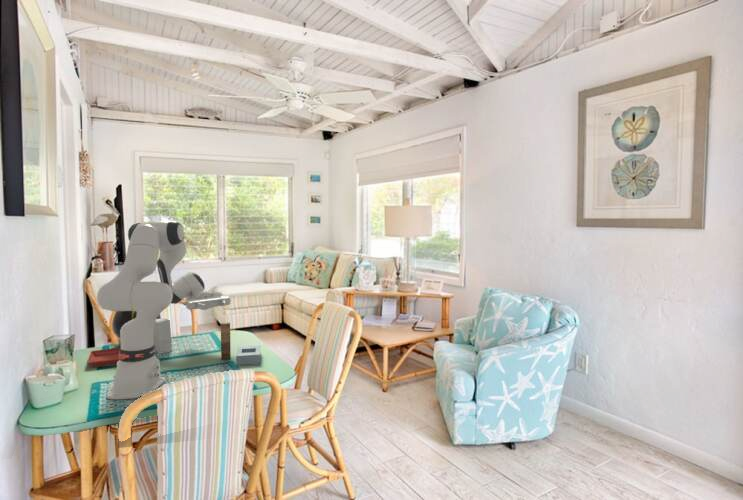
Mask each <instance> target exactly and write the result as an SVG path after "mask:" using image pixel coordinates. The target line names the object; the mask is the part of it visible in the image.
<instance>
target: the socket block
mask: <svg viewBox="0 0 743 500" xmlns="http://www.w3.org/2000/svg"><path fill="white" fill-rule="evenodd" d="M235 364H236V365H235V366H242V365H244V366H245V365H258V364H261V345H245V346H244V345H243V346H242V345H241V346H237V350H236V356H235Z"/></svg>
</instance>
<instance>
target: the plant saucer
mask: <svg viewBox="0 0 743 500" xmlns="http://www.w3.org/2000/svg"><path fill="white" fill-rule="evenodd" d="M120 348H121V347H115V348H106V349H99V350H91V351H90V352H89V356H88V359H87V364H88V366H90V367H92V368H99V367H107V366H113V365H114V366H115V365H117V362H118V361H119V359H118V356H119V351H120Z"/></svg>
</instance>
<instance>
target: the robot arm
mask: <svg viewBox="0 0 743 500" xmlns="http://www.w3.org/2000/svg"><path fill="white" fill-rule="evenodd" d="M127 236H128V241H129V243H128V247H127V250H126V251H127V252H126V255H125V261H124V263H123V266H122V268H121V269H120V271H119V272H118V274H116V276H114V278H113V279H111V280H110V281H108V282H106V283H103V284H102V286H100V288H99V289H98V291H97V294H96V295H97V296H96V301H97V304H98V305H99V307H100V308H101V309H102V310H105V311H111V312H116V311H137V316H136V318H135V319H132V320H130V321H128V322H127V323H125V324H124V325H123V326H122V328H121V330H120V339H119V341H120V340H121V346H120V347H119V348H120V351H119V356H118V359H119V361H118V362H117V364H116V367H115V373H114V375H113V380H112V381H110V386H109V388H108V391H107V395H106V399H109V400H129V399H138V398H139V399H140V398H141V397H140V396H142V395H144V394H146V393H148V392H150V391H153V390H155V389H156V390H157V389H158V388H159V387H161V386H162V385H163V384H164V383H165V382H166V378H165V377H163V376H161V365H160V363H161V362H160V359H158V358H157V357H156V351H155V345H154V344H153V333H154V324H155V321H156V319H157V317H158V316H159V314H160V315H161V313H162V312H163V311H164V310H166V309H167V308H168V307H169V306H170V305H171V304H175V305H177V304H179V303H180V302H182V301H183V300H184V299H185V302H183V303H182V304H183V306H185V308H186V309H187V310H190V311H191V310H192V311H193V310H198V309H199V310H202V311H207V310H209V309H212V308H215V307H224V306H230V305H231V302H232V300H231V297H230V296H229V295H226V294H224V293H223V294H222V292H216V291H215V292H214V291H213V292H211V291H205V288H206V286H205V282H204V281H203V279H202V277H201V276H200V275H198V274H197V273H195V272H192V271H188V272H187V273H185V274H183V275H181V276H180V277H178V278H177V279H175V280H172V275H171V273H172V271H173V269H174V268H175V267H176V266H177V265H178V264H179V263H180V262H181V261H182V260H183V259H184V257H185V256H186V254H187V245H186V242H185V240H184V238H185V231H184V227H183V225H182V224H181V223H180V222H179V221H176V220H169V221H167V220H153V221H152V220H151V221H144V222H138V223H137V222H136V223H134V224H132V225H131V226H130V227H129V228H128V232H127ZM156 270H157V271H158V275H159V280H160V282H159V281H153V280H152V281H142V280H143V279H145V278H147V277H150V276H151V275H153V273H155V271H156ZM156 390H155V391H156ZM153 392H154V391H153Z"/></svg>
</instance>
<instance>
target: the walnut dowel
mask: <svg viewBox="0 0 743 500" xmlns="http://www.w3.org/2000/svg"><path fill="white" fill-rule="evenodd" d="M231 353H232V352H231V322H228V321H227V322H221V323H220V354H221V355H220V359H221V361H228V360H231Z"/></svg>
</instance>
